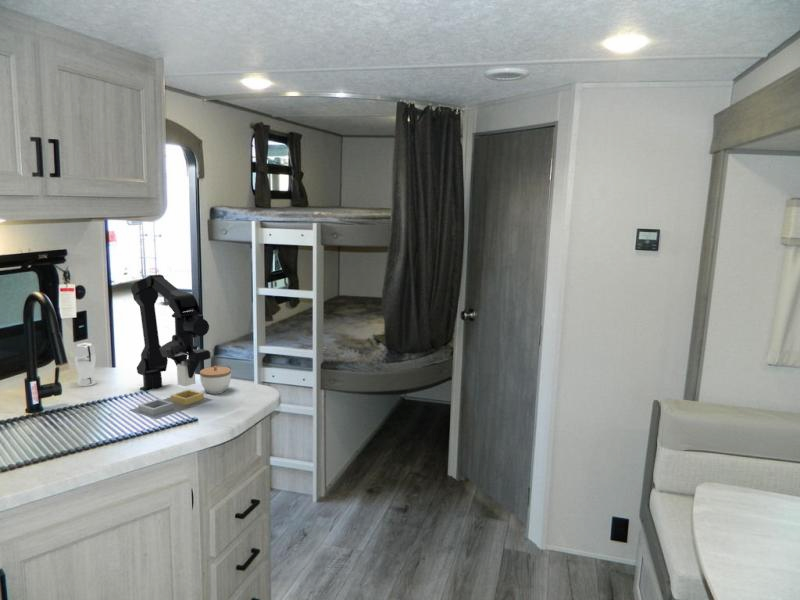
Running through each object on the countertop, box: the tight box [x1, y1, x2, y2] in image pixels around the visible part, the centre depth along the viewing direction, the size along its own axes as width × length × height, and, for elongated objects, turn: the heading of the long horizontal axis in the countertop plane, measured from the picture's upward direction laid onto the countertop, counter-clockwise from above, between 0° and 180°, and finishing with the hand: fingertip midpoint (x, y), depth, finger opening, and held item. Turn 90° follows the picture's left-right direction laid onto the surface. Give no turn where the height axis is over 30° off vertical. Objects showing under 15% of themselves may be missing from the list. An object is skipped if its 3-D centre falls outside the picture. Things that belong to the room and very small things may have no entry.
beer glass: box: [73, 342, 97, 387], centre depth 211 cm, size 7×7×15 cm
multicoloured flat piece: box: [128, 389, 213, 420], centre depth 188 cm, size 14×22×3 cm, turn 149°
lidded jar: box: [199, 365, 232, 395], centre depth 205 cm, size 11×11×9 cm
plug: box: [176, 361, 196, 387], centre depth 192 cm, size 4×4×8 cm
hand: (186, 376), depth 192 cm, fingers closed on plug, 4 cm apart
